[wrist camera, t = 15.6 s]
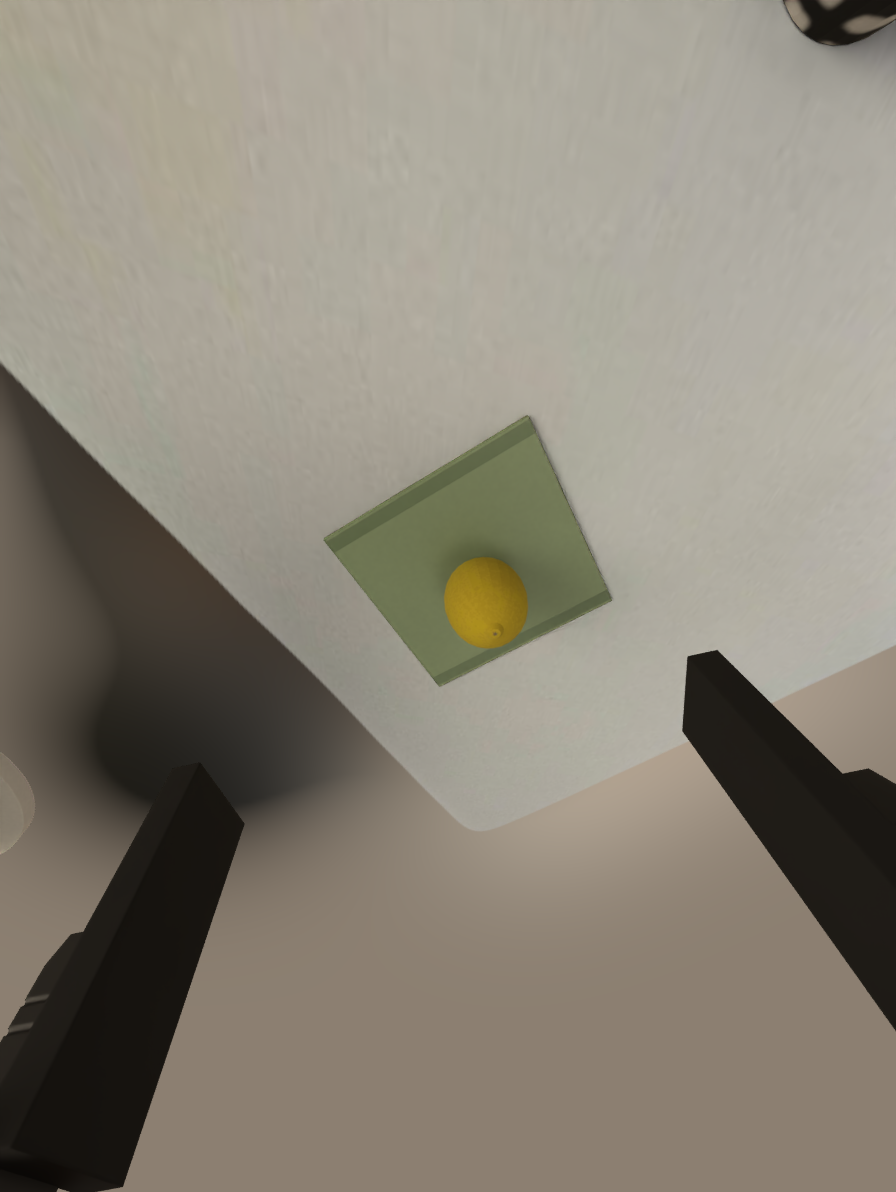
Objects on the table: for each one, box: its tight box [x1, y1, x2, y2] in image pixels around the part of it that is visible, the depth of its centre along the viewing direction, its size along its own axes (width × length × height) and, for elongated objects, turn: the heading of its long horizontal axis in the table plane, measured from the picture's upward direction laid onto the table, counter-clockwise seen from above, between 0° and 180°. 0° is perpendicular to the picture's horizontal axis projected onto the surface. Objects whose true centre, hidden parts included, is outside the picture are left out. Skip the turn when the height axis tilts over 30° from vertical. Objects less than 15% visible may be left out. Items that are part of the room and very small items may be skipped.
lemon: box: [444, 557, 528, 649], centre depth 30 cm, size 6×6×8 cm
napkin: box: [324, 415, 612, 687], centre depth 34 cm, size 16×16×1 cm
